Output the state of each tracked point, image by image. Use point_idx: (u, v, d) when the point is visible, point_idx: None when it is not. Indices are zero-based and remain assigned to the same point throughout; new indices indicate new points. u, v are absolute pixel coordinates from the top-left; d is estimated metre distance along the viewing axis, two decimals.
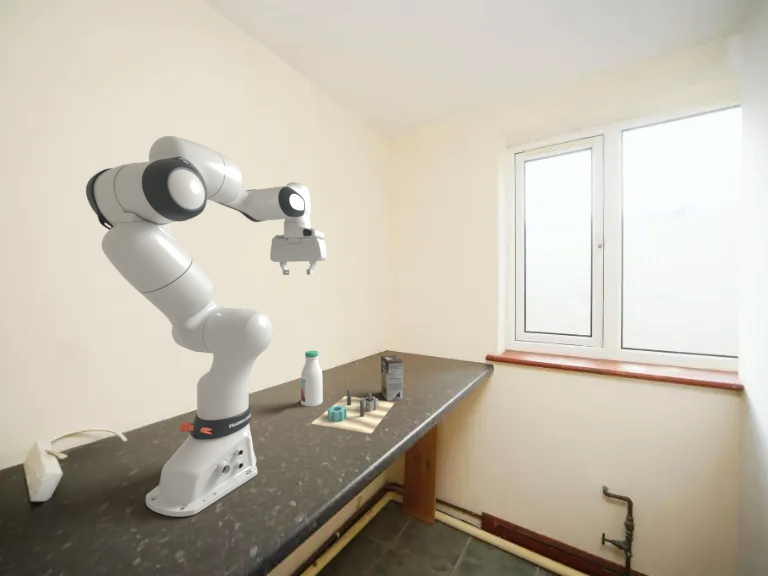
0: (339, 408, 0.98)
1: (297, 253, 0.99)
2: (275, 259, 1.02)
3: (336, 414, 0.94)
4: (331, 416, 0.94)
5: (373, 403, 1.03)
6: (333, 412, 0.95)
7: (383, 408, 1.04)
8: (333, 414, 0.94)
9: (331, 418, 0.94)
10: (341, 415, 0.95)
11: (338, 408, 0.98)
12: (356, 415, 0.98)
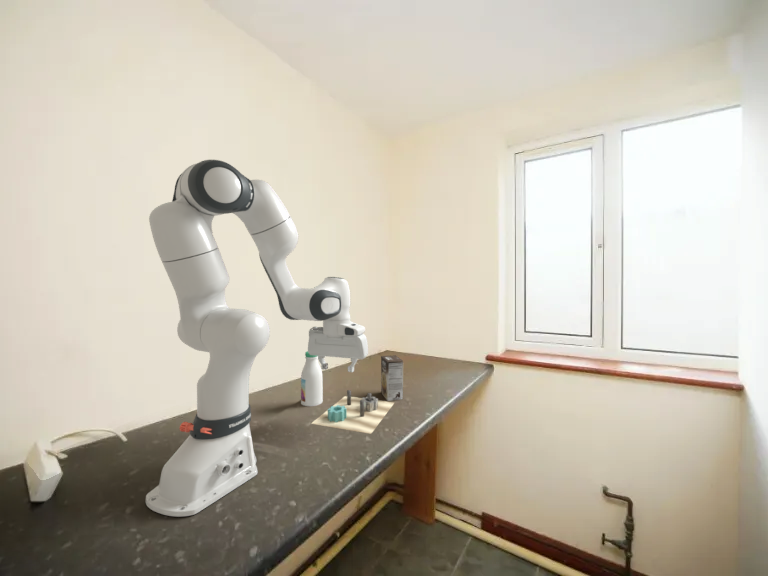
0: (339, 408, 0.98)
1: (338, 350, 0.94)
2: (313, 353, 0.97)
3: (336, 414, 0.94)
4: (331, 416, 0.94)
5: (373, 403, 1.03)
6: (333, 412, 0.95)
7: (383, 408, 1.04)
8: (333, 414, 0.94)
9: (331, 418, 0.94)
10: (341, 415, 0.95)
11: (338, 408, 0.98)
12: (356, 415, 0.98)
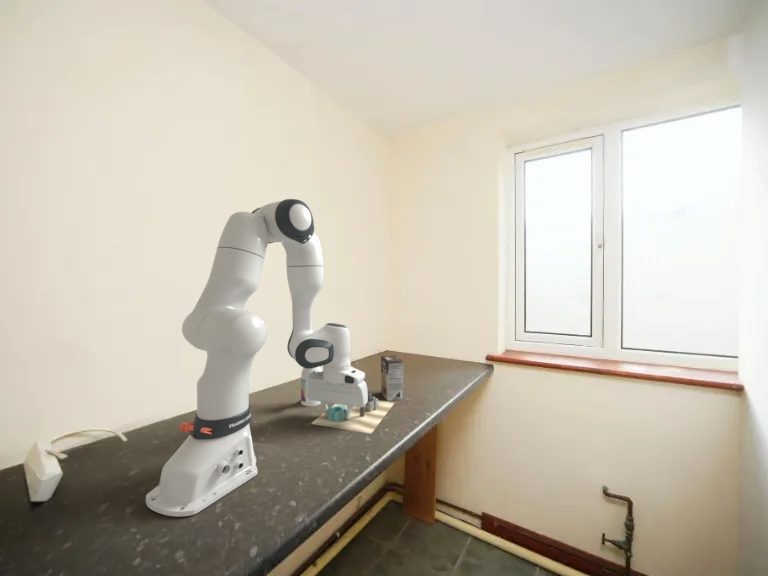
0: (339, 408, 0.98)
1: (338, 397, 0.94)
2: (313, 399, 0.97)
3: (336, 414, 0.94)
4: (331, 416, 0.94)
5: (373, 403, 1.03)
6: (333, 412, 0.95)
7: (383, 408, 1.04)
8: (333, 414, 0.94)
9: (331, 418, 0.94)
10: (341, 415, 0.95)
11: (338, 408, 0.98)
12: (356, 415, 0.98)
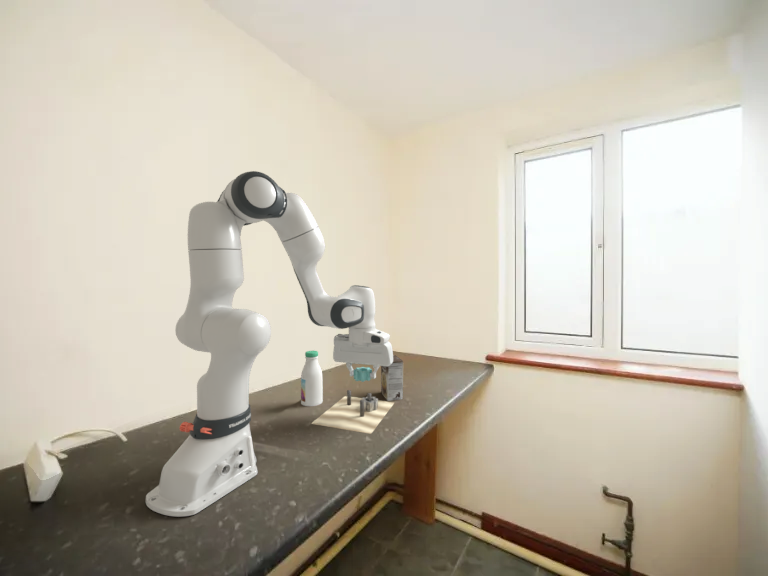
0: (364, 369, 1.00)
1: (364, 357, 0.96)
2: (339, 360, 0.99)
3: (362, 374, 0.95)
4: (357, 376, 0.96)
5: (373, 403, 1.03)
6: (359, 372, 0.96)
7: (383, 408, 1.04)
8: (359, 374, 0.96)
9: (357, 378, 0.96)
10: (367, 375, 0.96)
11: (363, 369, 1.00)
12: (356, 415, 0.98)
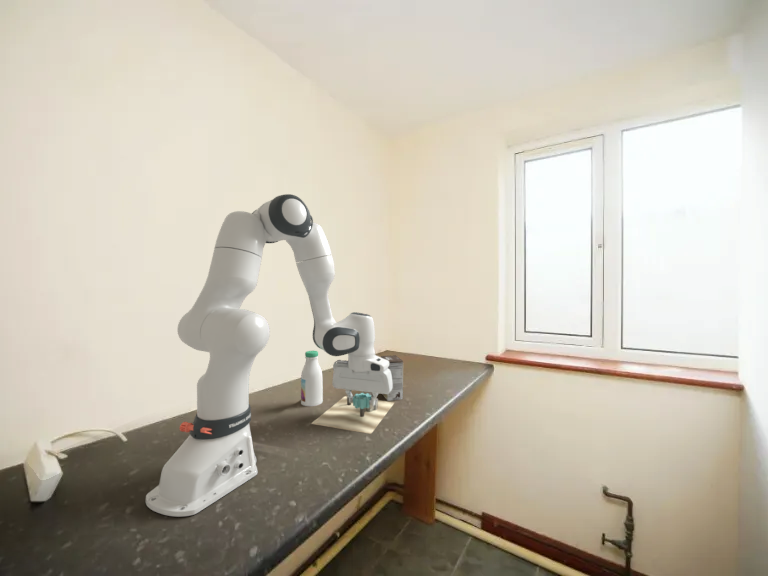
0: (364, 395, 1.00)
1: (363, 384, 0.96)
2: (338, 387, 0.99)
3: (362, 401, 0.96)
4: (357, 403, 0.96)
5: None
6: (359, 399, 0.96)
7: (383, 408, 1.04)
8: (359, 401, 0.96)
9: (357, 405, 0.96)
10: (366, 402, 0.97)
11: (363, 395, 1.00)
12: (356, 415, 0.98)
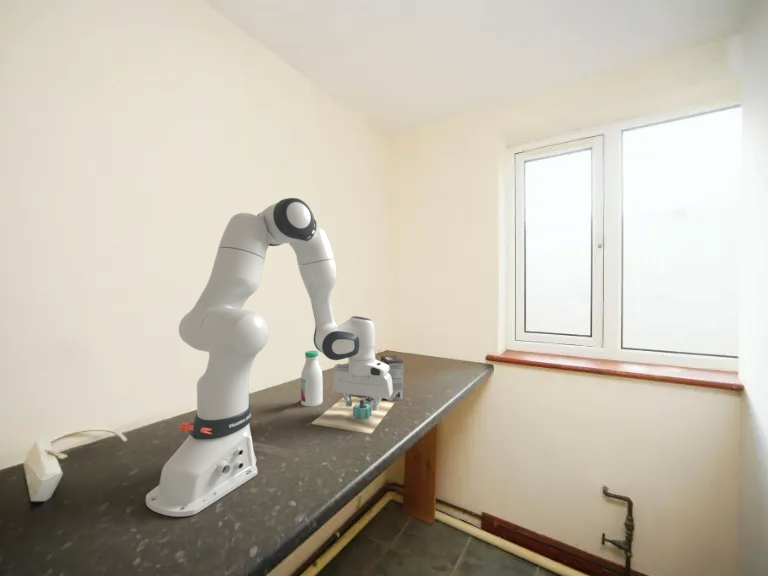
0: (364, 406, 1.00)
1: (363, 389, 0.96)
2: (338, 391, 0.99)
3: (362, 412, 0.95)
4: (357, 414, 0.96)
5: (373, 403, 1.03)
6: (359, 410, 0.96)
7: (383, 408, 1.04)
8: (359, 412, 0.96)
9: (357, 416, 0.96)
10: (366, 413, 0.96)
11: None
12: None
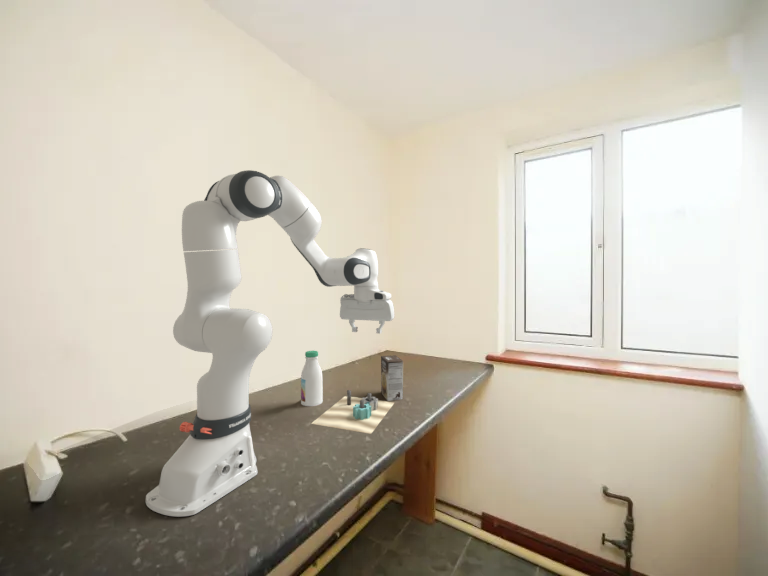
0: (364, 406, 1.00)
1: (367, 314, 1.06)
2: (345, 317, 1.09)
3: (362, 412, 0.95)
4: (357, 414, 0.96)
5: (373, 403, 1.03)
6: (359, 410, 0.96)
7: (383, 408, 1.04)
8: (359, 412, 0.96)
9: (357, 416, 0.96)
10: (366, 413, 0.96)
11: None
12: None
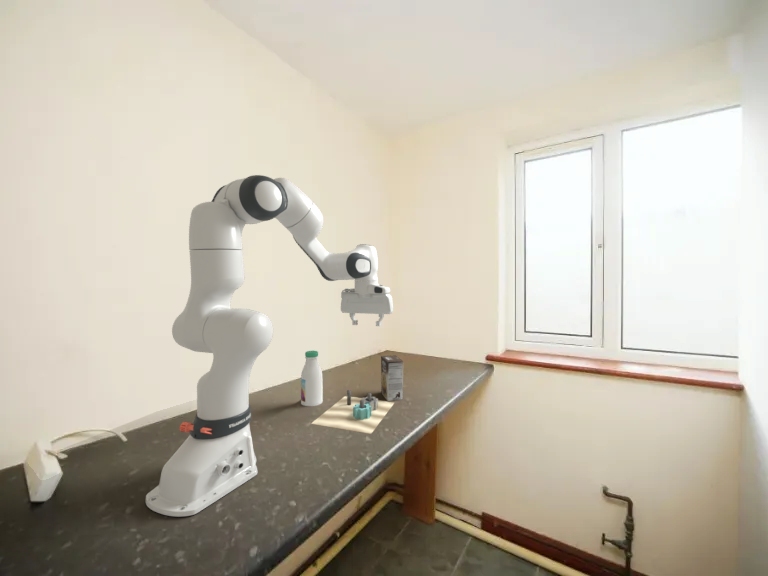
0: (364, 406, 1.00)
1: (367, 307, 1.10)
2: (345, 311, 1.13)
3: (362, 412, 0.95)
4: (357, 414, 0.96)
5: (373, 403, 1.03)
6: (359, 410, 0.96)
7: (383, 408, 1.04)
8: (359, 412, 0.96)
9: (357, 416, 0.96)
10: (366, 413, 0.96)
11: None
12: None
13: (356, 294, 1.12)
